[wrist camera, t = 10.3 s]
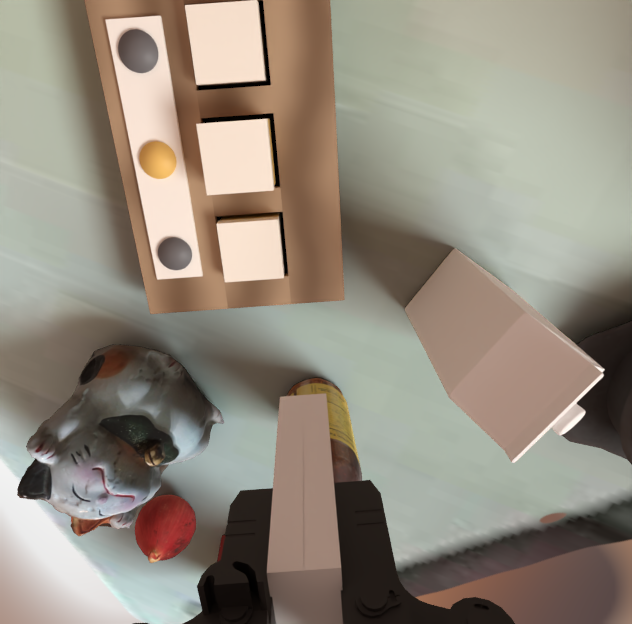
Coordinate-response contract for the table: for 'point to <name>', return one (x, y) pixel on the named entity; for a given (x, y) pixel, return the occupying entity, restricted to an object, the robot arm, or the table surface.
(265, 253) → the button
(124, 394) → the lucky cat figurine
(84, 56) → the table surface
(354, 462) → the sauce bottle
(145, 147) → the push button panel
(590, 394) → the casserole
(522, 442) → the milk carton
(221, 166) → the middle button
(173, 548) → the onion
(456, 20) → the table surface
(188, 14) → the yellow white square block
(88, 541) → the table surface
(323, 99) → the button board
